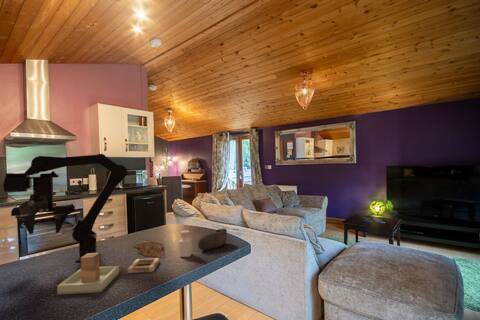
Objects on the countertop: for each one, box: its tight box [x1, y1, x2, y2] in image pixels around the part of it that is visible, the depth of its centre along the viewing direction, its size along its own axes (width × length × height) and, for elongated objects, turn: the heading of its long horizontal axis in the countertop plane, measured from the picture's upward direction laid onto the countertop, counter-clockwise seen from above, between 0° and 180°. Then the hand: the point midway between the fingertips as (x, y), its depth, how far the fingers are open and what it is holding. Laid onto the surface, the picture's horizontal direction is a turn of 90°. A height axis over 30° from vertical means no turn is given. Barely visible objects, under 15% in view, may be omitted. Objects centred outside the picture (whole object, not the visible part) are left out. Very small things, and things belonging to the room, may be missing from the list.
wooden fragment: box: [132, 240, 166, 259], centre depth 106 cm, size 26×11×1 cm, turn 35°
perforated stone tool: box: [197, 227, 228, 251], centre depth 106 cm, size 15×5×7 cm, turn 131°
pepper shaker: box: [178, 229, 193, 258], centre depth 97 cm, size 4×4×10 cm
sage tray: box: [56, 265, 120, 296], centre depth 77 cm, size 12×12×2 cm
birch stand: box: [127, 257, 160, 274], centre depth 88 cm, size 8×8×2 cm
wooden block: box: [80, 252, 100, 283], centre depth 77 cm, size 4×4×8 cm
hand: (44, 233), depth 91 cm, fingers open, 9 cm apart
